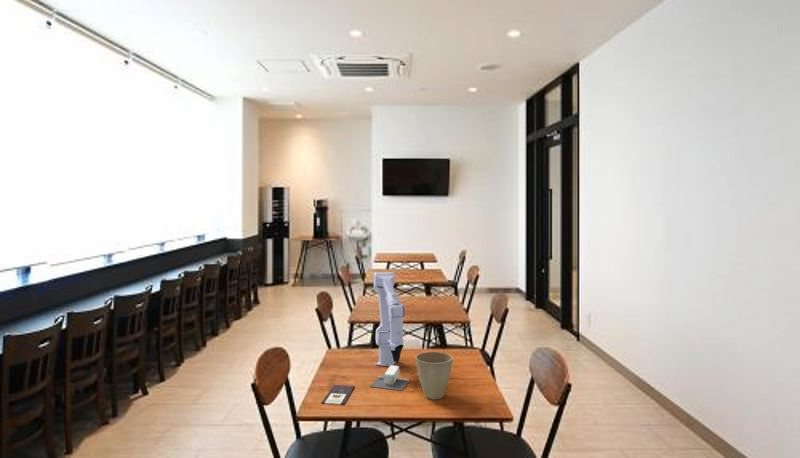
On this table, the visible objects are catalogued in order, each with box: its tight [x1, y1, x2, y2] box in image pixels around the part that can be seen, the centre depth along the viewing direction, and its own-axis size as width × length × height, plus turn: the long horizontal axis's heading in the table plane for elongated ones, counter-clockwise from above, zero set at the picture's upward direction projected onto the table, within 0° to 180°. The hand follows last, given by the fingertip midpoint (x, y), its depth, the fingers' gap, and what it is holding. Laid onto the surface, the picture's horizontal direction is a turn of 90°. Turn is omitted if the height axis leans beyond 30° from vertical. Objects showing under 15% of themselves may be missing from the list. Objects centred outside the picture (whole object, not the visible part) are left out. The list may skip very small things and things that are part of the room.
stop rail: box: [376, 375, 410, 383], centre depth 214 cm, size 2×14×1 cm, turn 73°
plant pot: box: [415, 351, 454, 400], centre depth 197 cm, size 15×15×16 cm
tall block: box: [383, 365, 400, 385], centre depth 212 cm, size 4×4×9 cm
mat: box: [369, 379, 409, 392], centre depth 209 cm, size 9×14×1 cm, turn 73°
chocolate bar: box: [321, 384, 356, 406], centre depth 198 cm, size 9×1×18 cm
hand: (396, 361), depth 218 cm, fingers closed
